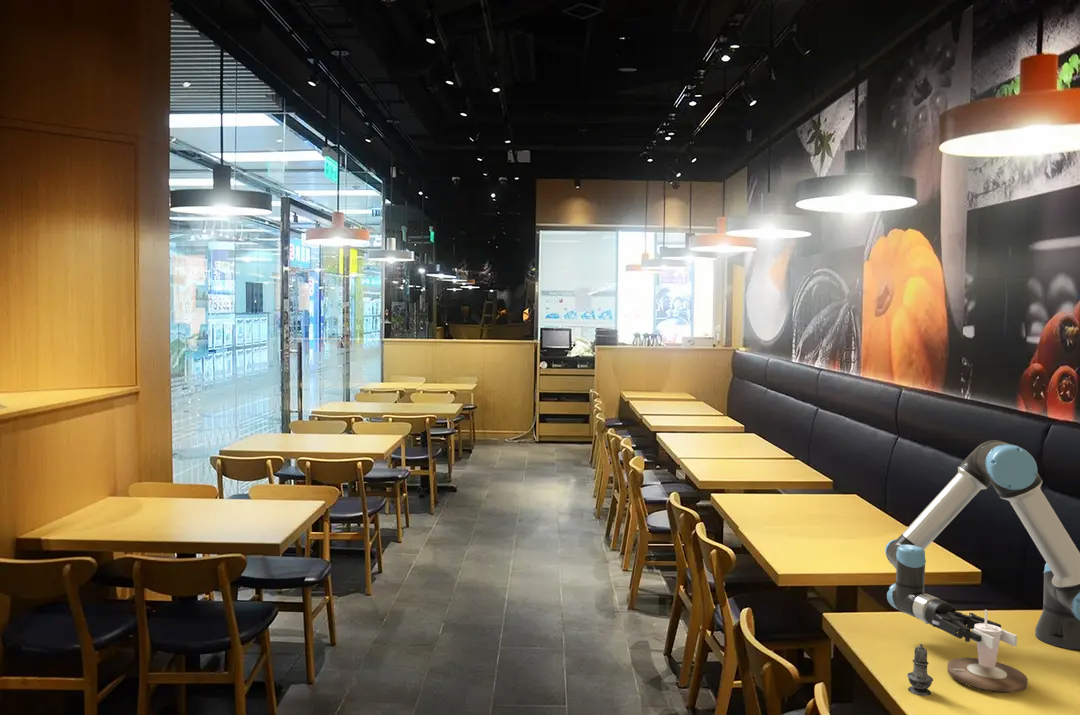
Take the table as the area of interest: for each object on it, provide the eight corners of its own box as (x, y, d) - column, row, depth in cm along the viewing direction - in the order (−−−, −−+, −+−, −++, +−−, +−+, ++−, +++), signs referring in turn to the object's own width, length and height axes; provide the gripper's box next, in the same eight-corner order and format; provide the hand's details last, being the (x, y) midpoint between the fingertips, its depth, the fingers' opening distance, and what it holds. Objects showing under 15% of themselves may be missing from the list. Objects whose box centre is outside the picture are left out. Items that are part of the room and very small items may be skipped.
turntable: (1004, 664, 215) (1004, 658, 215) (1042, 693, 197) (1042, 687, 197) (935, 661, 216) (935, 655, 216) (967, 690, 198) (967, 684, 198)
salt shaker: (935, 697, 196) (937, 649, 196) (910, 695, 197) (911, 646, 197) (929, 687, 202) (930, 640, 202) (904, 685, 203) (905, 638, 203)
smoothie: (975, 657, 211) (977, 604, 211) (1003, 664, 207) (1005, 610, 206) (970, 665, 206) (972, 610, 206) (998, 671, 202) (1000, 616, 202)
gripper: (962, 622, 226) (1034, 653, 204) (905, 628, 221) (973, 660, 199) (963, 595, 226) (1035, 624, 204) (906, 601, 221) (974, 630, 198)
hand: (1004, 642), depth 201 cm, fingers closed on smoothie, 6 cm apart
